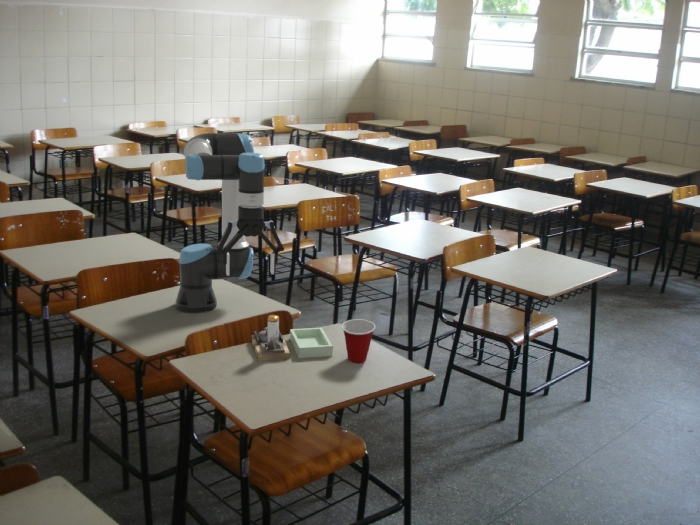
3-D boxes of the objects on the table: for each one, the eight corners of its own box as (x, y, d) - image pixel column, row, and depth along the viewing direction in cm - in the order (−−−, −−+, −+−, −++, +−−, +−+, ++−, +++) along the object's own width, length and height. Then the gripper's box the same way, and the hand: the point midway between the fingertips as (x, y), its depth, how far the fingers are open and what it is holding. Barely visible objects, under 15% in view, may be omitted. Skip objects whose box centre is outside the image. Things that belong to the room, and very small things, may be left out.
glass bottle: (266, 347, 228) (266, 315, 225) (277, 346, 229) (278, 314, 226) (267, 352, 225) (268, 319, 221) (279, 351, 226) (280, 318, 222)
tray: (289, 338, 241) (290, 329, 240) (321, 337, 244) (321, 327, 243) (299, 358, 226) (299, 348, 225) (332, 356, 229) (332, 346, 228)
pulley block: (251, 340, 237) (251, 327, 236) (281, 339, 240) (281, 325, 239) (258, 360, 223) (258, 346, 221) (289, 358, 225) (290, 344, 224)
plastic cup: (332, 360, 226) (334, 325, 223) (352, 350, 235) (354, 316, 231) (360, 370, 220) (363, 334, 217) (379, 359, 229) (382, 324, 225)
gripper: (209, 208, 204) (209, 278, 210) (294, 208, 211) (292, 275, 217) (207, 203, 211) (207, 271, 217) (289, 202, 217) (288, 268, 223)
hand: (250, 273), depth 217 cm, fingers open, 13 cm apart
